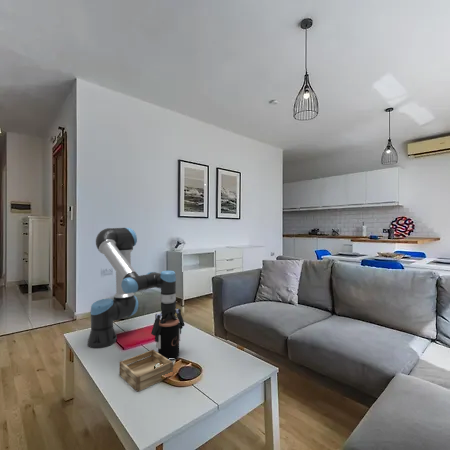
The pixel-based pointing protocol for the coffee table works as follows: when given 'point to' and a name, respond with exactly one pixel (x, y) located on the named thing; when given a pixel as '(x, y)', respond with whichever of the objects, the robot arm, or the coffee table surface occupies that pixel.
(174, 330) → the coffee jar
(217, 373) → the coffee table surface
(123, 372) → the pine crate
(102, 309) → the robot arm
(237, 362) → the coffee table surface
